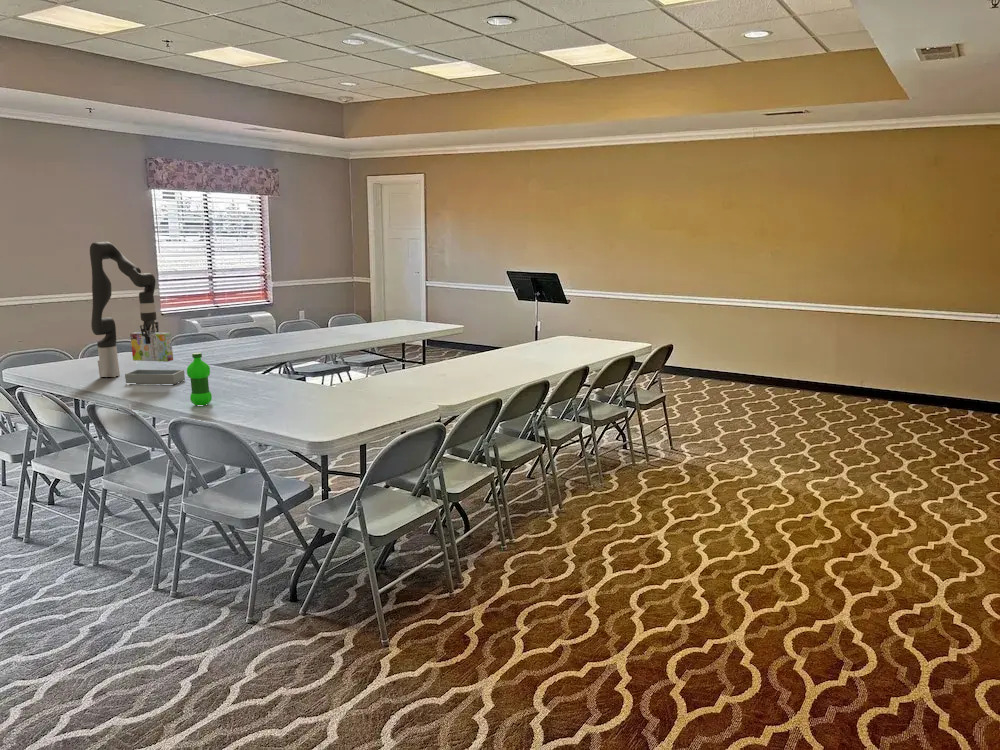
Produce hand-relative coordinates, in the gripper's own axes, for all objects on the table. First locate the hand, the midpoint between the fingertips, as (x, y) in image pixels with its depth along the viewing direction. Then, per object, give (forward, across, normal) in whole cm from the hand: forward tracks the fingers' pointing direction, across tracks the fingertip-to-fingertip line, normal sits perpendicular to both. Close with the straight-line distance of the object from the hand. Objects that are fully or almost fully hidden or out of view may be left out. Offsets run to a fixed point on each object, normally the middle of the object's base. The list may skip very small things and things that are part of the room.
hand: (151, 342), depth 394 cm
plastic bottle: (+22, -45, -48) cm, 69 cm away
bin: (+22, 0, 0) cm, 22 cm away
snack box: (+10, 0, 0) cm, 10 cm away
